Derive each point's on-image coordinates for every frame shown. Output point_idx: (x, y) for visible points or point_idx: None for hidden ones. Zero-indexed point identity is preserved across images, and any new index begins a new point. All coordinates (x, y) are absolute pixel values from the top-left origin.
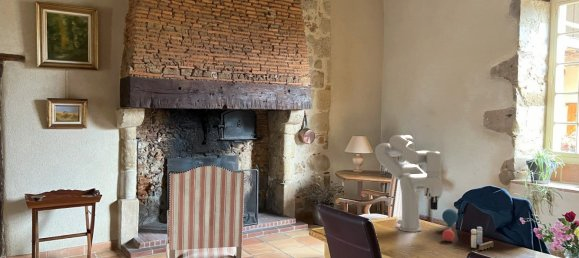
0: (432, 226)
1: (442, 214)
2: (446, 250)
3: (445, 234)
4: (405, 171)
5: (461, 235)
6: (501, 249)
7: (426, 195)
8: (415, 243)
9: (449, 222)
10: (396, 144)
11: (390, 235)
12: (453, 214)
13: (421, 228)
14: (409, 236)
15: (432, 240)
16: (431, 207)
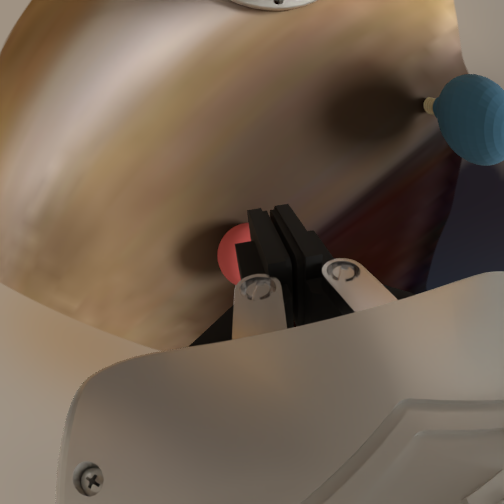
0: (419, 7)
1: (470, 83)
2: (132, 324)
3: (220, 267)
4: None
5: (384, 197)
6: None
7: (169, 361)
8: (67, 201)
9: (439, 125)
10: None
11: (55, 17)
12: (480, 160)
13: (309, 2)
14: (126, 66)
15: (181, 192)
16: (235, 249)
